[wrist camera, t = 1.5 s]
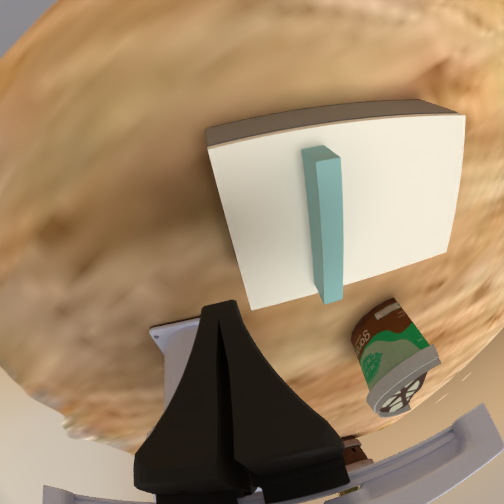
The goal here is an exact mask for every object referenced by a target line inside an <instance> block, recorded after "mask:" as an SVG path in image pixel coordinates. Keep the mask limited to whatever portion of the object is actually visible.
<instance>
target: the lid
mask: <svg viewBox="0 0 504 504" xmlns="http://www.w3.org/2000/svg"><path fill="white" fill-rule="evenodd" d="M464 136H465V115H463V114H460V113H445V114H414V115H397V116H384V117H373V118H363V119H354V120H345V121H337V122H330V123H323V124H316V125H310V126H304V127H298V128H292V129H286V130H281V131H276V132H271V133H266V134H261V135H256V136H251V137H247V138H242V139H238V140H234V141H229V142H225V143H221V144H217V145H213V146H209V147H207V148H208V153H209V157H210V161H211V164H212V168H213V172H214V176H215V180H216V183H217V187H218V191H219V195H220V198H221V202H222V206H223V210H224V213H225V217H226V221H227V224H228V228H229V232H230V235H231V239H232V243H233V246H234V250H235V254H236V257H237V261H238V264H239V268H240V272H241V275H242V279H243V282H244V286H245V289H246V293H247V297H248V300H249V304H250V307H251V311H252V310H256V309H260V308H264V307H267V306H271V305H275V304H279V303H283V302H287V301H290V300H294V299H298V298H301V297H305V296H309V295H312V294H316V293H319V294H320V297H321V299H322V301H323V303H324V305H325V304H328V303H331V302H335V301H338V300H341V299H342V297H343V285H347V284H350V283H354V282H357V281H360V280H363V279H367V278H370V277H373V276H376V275H379V274H382V273H386V272H389V271H392V270H395V269H398V268H401V267H404V266H407V265H410V264H413V263H416V262H419V261H422V260H425V259H428V258H430V257H433V256H436V255H439V254H442V253H445V252H446V251H447V247H448V243H449V238H450V234H451V229H452V225H453V220H454V214H455V209H456V203H457V198H458V191H459V184H460V177H461V169H462V160H463V150H464Z"/></svg>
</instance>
